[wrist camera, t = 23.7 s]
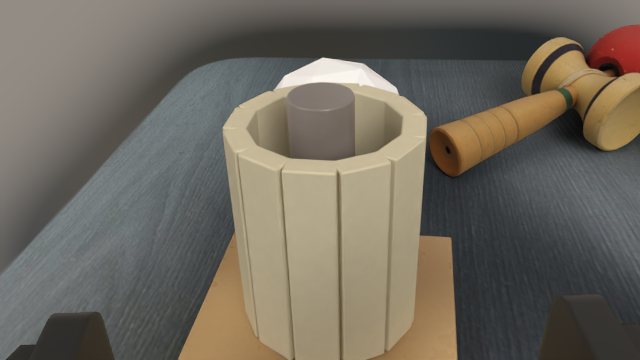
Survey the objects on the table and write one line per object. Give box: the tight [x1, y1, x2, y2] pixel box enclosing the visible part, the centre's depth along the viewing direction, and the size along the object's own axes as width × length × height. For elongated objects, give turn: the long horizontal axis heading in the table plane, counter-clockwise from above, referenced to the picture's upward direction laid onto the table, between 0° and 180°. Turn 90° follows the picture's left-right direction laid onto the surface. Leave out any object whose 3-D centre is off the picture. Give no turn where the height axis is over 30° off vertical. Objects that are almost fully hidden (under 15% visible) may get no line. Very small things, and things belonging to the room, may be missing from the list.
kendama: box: [429, 25, 640, 177], centre depth 37 cm, size 8×6×18 cm
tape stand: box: [178, 82, 458, 360], centre depth 22 cm, size 10×10×10 cm
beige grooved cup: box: [223, 82, 427, 360], centre depth 22 cm, size 7×7×8 cm
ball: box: [275, 58, 400, 97], centre depth 32 cm, size 8×8×8 cm
